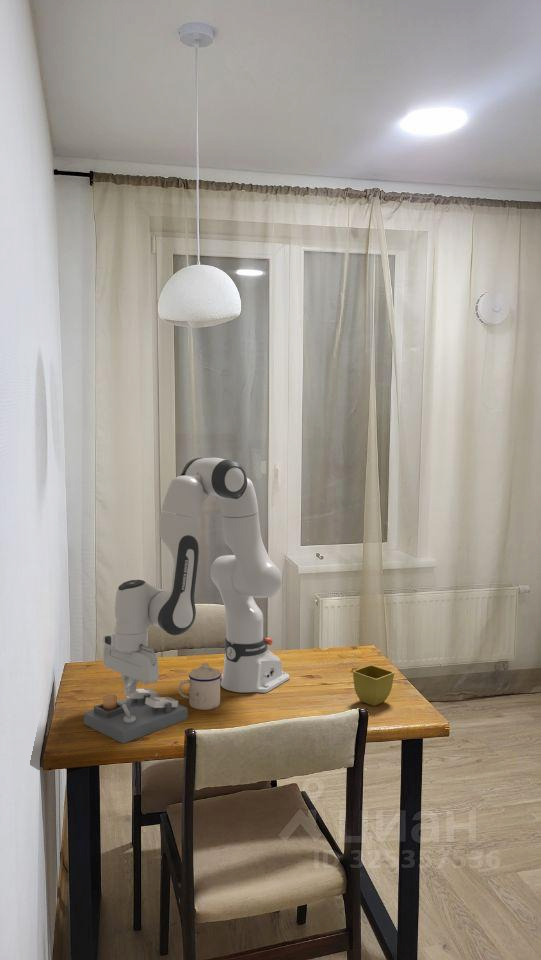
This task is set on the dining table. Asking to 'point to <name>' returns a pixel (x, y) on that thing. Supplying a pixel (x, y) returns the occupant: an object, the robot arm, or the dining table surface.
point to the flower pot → (373, 684)
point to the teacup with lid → (203, 687)
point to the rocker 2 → (160, 702)
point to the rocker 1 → (140, 693)
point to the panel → (133, 718)
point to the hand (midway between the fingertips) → (130, 691)
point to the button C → (109, 701)
